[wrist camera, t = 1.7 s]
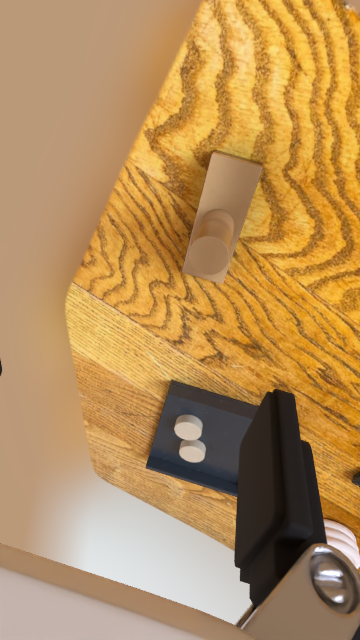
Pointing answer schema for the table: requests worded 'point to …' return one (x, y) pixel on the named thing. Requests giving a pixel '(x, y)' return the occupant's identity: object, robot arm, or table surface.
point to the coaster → (342, 540)
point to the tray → (202, 437)
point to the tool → (356, 480)
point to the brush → (221, 215)
